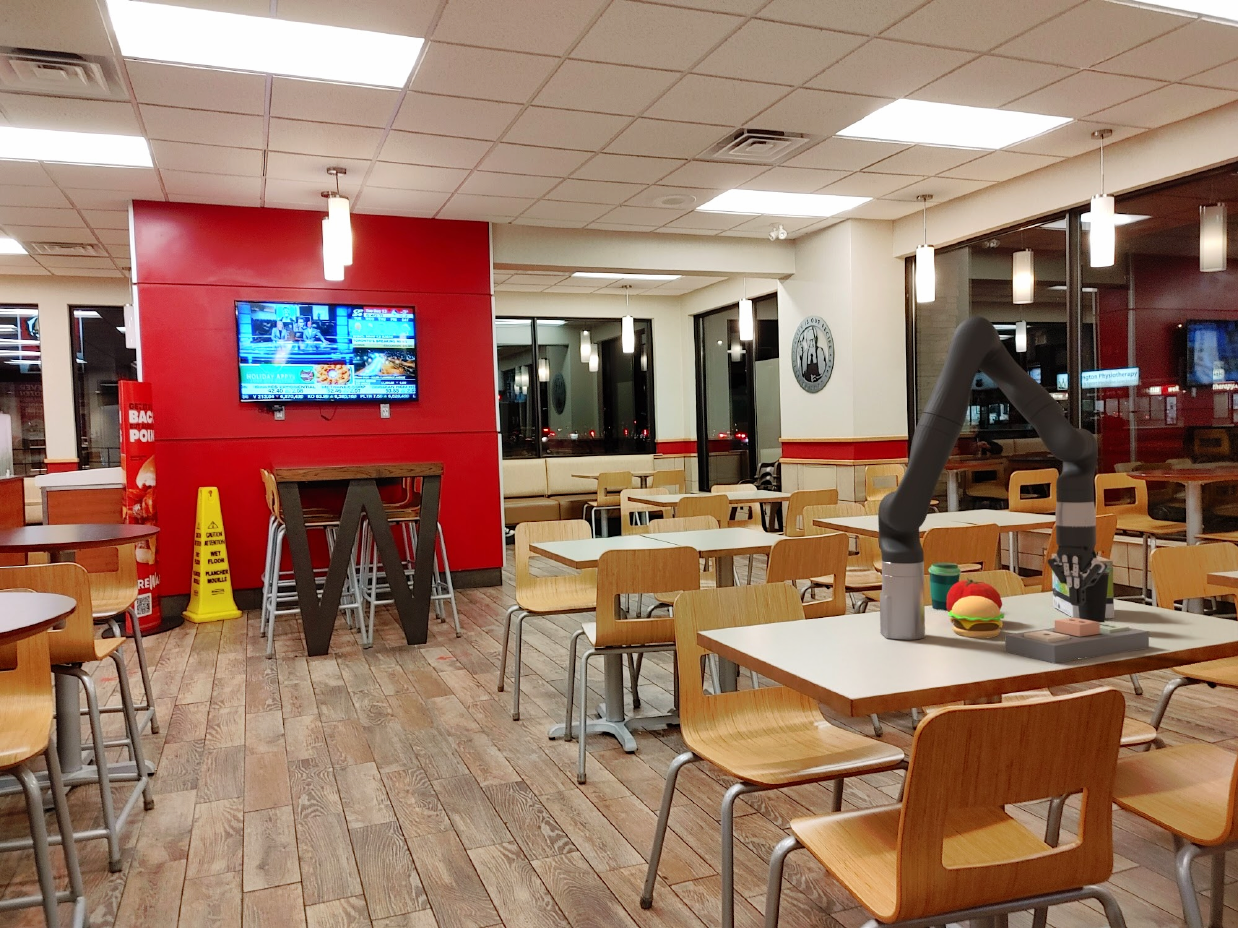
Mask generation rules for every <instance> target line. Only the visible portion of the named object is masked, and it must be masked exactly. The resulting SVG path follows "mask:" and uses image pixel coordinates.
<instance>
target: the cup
mask: <svg viewBox="0 0 1238 928" xmlns="http://www.w3.org/2000/svg"><path fill="white" fill-rule="evenodd" d="M928 572H929V586H930V587H929V589H930V598H931V606H932V608H933V609H934V610H937V611H938V610H939V611H948V609H947V594H948V592H949V590H950V589H951V587H952V586H953V585H954V584H956V583H958V582H960V575H961V574H962V570H961V569H960V568H959V565H958V564H957V563H954V562H953V563H952V562H935V563H932V564H931V566H930V567H929V568H928Z"/></svg>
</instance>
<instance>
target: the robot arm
mask: <svg viewBox="0 0 1238 928" xmlns="http://www.w3.org/2000/svg"><path fill="white" fill-rule="evenodd" d="M946 354H947V355H946V358H945V361H944V364H943V367H942V369H941V372H940V373H939V376H938V378H937V380H936V382H935V384H934V386H933V389H932V391H931V393H930V395H929V397H928V401H927V402H926V404H925V406H924V409H923V411H922V413H921V416H920V418H919V421H918V422H917V425H916V426H915V430H914V434H913V436H912V441H911V446H910V454H909V460H908V464H907V467H906V469H905V472H904V475H903V477H902V479H901V480H900V482H899V485H898V487H897V488H896V490H895V491H891V492H889V493H887V494H886V495H885V496H884V497H883V498H882V499H881V500H880V502H879V506H878V510H877V511H878V514H877V517H878V518H877V521H878V542H879V543H878V544H879V548H880V552H881V553H880V554H881V555H880V556H881V592H879V609H880V610H879V612H880V614H879V615H880V616H879V621H880V624H879V625H880V629H879V630H880V632H879V633H880V634H881V635H882V636H883V637H885V638H886V639H893V640H894V639H895V640H904V641H905V640H907V641H908V640H911V641H912V640H919V639H924V638H925V636H926V621H925V620H926V616H925V615H926V614H925V608H926V607H925V604H926V603H925V559H924V557H925V554H924V549H923V547H922V546H923V545H922V544H921V539H920V538H921V537H920V527H922V525H923V524H924V523H925V520H926V518H927V515H928V514H929V513H928V512H929V509H930V506H931V503H932V500H933V496H934V492H935V489H936V486H937V483H938V482H939V479H940V477H941V474H942V472H943V471H944V469H945V466H946V464H947V462H948V460H949V458H950V456H951V454H952V452H953V449H954V447H955V445H956V444H957V441H958V439H959V436H960V435H961V431H962V430H963V427H964V424H965V421H966V419H967V415H968V411H969V405H970V398H971V393H972V386H973V382H974V380H975V378H976V375H977V373H978V371H981V372H982V373H983V374H984V375H986V376H987V377H988V378H989V379H990V380H991V381H992V382H993V383H994V384H995V385H996V386H997V387H998V388H999V389H1000V390H1001V392H1002V393H1003V394H1004V395H1005V397H1006V398H1007V399H1008V401H1009V402H1010V403H1011V404H1012V405H1013V406H1014V408H1016V410H1017V411H1018V412H1019V414H1021V416H1023V418H1024V419H1025V420H1026V421H1027V422H1028V423H1029V424H1030V425H1031V427H1033V428H1034V429H1035V431H1036V432H1037V435H1038V437H1039V438H1040V440H1041V441H1042V442H1043V443H1042V444H1044V446H1045V447H1046V449H1047V451H1049V453H1051V455H1053V456H1054V457H1055V458H1056V459H1057V460H1060V462H1061V461H1062V471H1061V474H1060V475H1058V477H1057V478H1056V483H1055V487H1056V490H1055V491H1056V492H1055V493H1056V506H1055V541H1056V542H1055V543H1056V545H1057V546H1058V547H1057V549H1056V554H1057V555H1056V556H1055V557H1054V558H1052V557H1051V558H1049V559H1047V564H1048V565H1049V567H1050V569H1051V571H1052V570H1053V572H1054V573H1055V575H1056V576H1057V578H1058V579H1059V581H1060V583H1062V584H1063V583H1064V584H1066V585H1067V586H1068V587H1069V600H1070V602H1071V605H1074V606H1083V605H1084V603H1085V602H1086V587H1088V586H1092V585H1094V584H1095V583H1096V582H1097V580H1098V579H1099V578H1100V576H1101V575H1102V574H1103V572H1104V571H1105V570H1106V568H1107V564H1105V563H1101V562H1100V561H1099V560H1098V559H1097V556H1098V554H1097V553H1096V552H1097V551H1096V550H1095V547H1096V546H1097V521H1096V520H1097V519H1096V507H1095V494H1094V492H1095V491H1094V488H1095V487H1094V477H1095V473H1096V467H1097V463H1098V462H1097V461H1098V454H1099V452H1098V451H1099V448H1098V446H1099V445H1098V442H1097V438H1096V437H1095V435H1094V434H1093V433H1092V432H1091V431H1089V430H1087V429H1085V428H1076V427H1074V426H1073V425H1072V424H1071V423H1070V421H1069V420H1068V419H1067V418H1066V417H1065V415H1066V413H1065V409H1064V408H1063V407H1062V405H1061V404H1060V403H1059V402H1058V401H1057V400H1056V399H1055V398H1054V397H1053V396H1052V395H1051V394H1050V393H1049V391H1048V390H1047V389H1046V388H1044V387H1043V386H1042V384H1041V383H1039V381H1037V380H1036V379H1034V378H1033V376H1031V375H1030V374H1029V373H1027V372H1026V371H1025V370H1024V369H1023V368H1022V367H1021V366H1020V365H1019V364H1018V363H1017V362H1016V361H1015V359H1014V358H1013V357H1012V356H1011V354H1010V353H1009V351H1008V350H1007V348H1006V347H1005V345H1004V344H1003V341H1002V340H1001V336H1000V334H999V332H998V330H997V328H995V325H993V323H992V322H991V321H990V320H988V318H986V317H983V316H978V315H976V316H975V315H974V316H971V317H970V316H969V317H968V318H965V319H964V320H962V322H960V323H959V325H957V327H956V328H955V330H954V333H953V335H952V338H951V341H950V343H949V347H948V351H947V353H946ZM1089 569H1091V570H1090V572H1089ZM1071 571H1073V572H1071Z"/></svg>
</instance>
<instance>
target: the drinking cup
mask: <svg viewBox="0 0 1238 928" xmlns="http://www.w3.org/2000/svg"><path fill="white" fill-rule="evenodd" d="M1090 570H1091V569H1089V572H1090ZM1109 574H1110V571H1108V570H1105V571H1104V572H1103V574H1102V575H1101V576H1100V578H1099V579H1098V580H1097V582H1096V583H1095V584H1094V585H1092V586H1088V587H1086V602H1085V603H1084V605H1083V606H1078V609H1079V619H1085V620H1090V621H1096V622H1105V623H1106V618H1105V612H1106V601H1107V589H1108V578H1109Z"/></svg>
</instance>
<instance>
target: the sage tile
mask: <svg viewBox="0 0 1238 928" xmlns="http://www.w3.org/2000/svg"><path fill="white" fill-rule="evenodd" d="M1129 628H1130V627H1129V626H1127V625H1126V626H1125V625H1120V624H1115V623H1110V622H1106V621H1105V622H1101V623H1100V631H1101V632H1106V633H1116V632H1123V631H1129Z"/></svg>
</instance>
